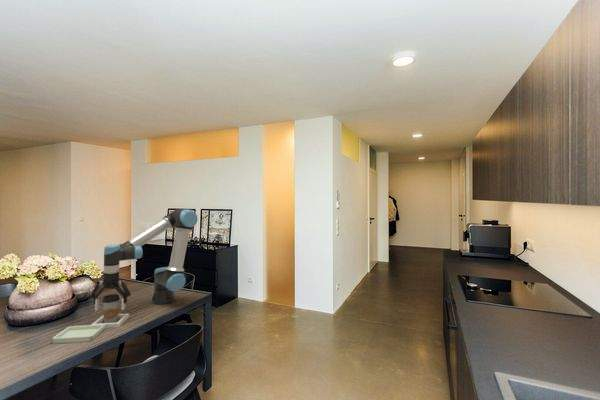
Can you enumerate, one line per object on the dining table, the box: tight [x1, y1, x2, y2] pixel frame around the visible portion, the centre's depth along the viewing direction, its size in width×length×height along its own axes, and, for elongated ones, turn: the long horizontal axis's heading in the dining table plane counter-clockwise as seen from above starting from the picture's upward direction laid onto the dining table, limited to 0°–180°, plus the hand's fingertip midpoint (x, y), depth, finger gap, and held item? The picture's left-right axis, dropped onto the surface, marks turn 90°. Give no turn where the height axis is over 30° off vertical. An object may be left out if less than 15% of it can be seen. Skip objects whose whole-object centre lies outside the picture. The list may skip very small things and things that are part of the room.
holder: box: [90, 313, 130, 329], centre depth 164 cm, size 14×14×2 cm
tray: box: [50, 324, 107, 345], centre depth 148 cm, size 18×14×2 cm
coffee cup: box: [102, 293, 121, 323], centre depth 164 cm, size 8×8×15 cm
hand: (110, 309), depth 163 cm, fingers open, 13 cm apart
